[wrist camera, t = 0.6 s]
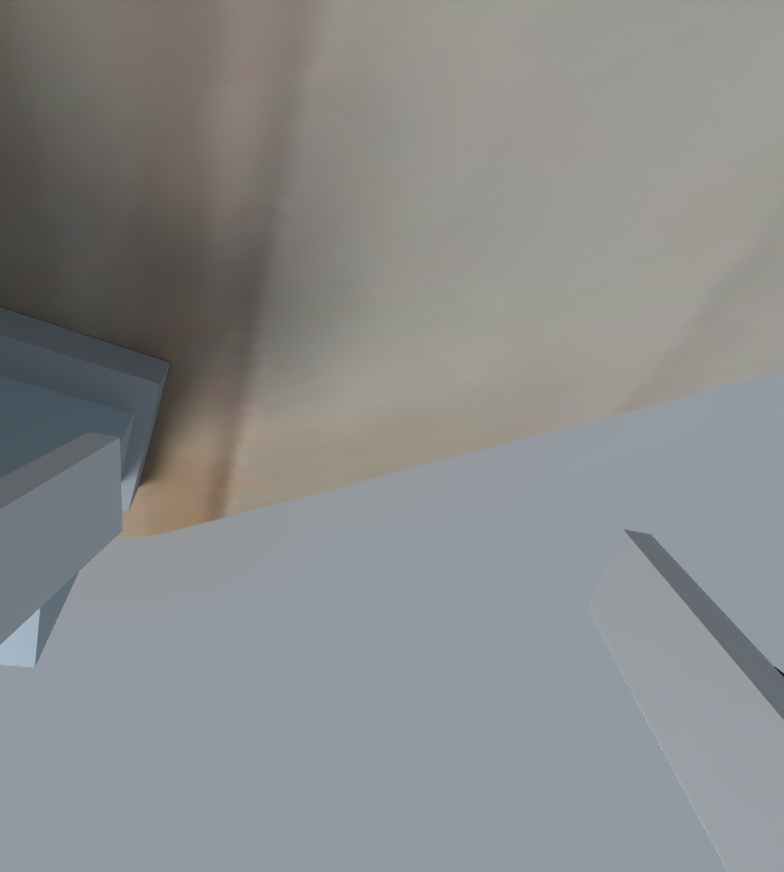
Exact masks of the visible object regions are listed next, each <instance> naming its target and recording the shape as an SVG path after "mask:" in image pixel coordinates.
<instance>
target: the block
mask: <svg viewBox="0 0 784 872" xmlns="http://www.w3.org/2000/svg"><path fill="white" fill-rule="evenodd" d="M134 416H135V413H131V412H128V411H124V410H121V409H117V408H113V407H110V406H106V405H103V404H99V403H96V402H92V401H88V400H85V399H81V398H78V397H74V396H70V395H67V394H63V393H60V392H56V391H53V390H49V389H45V388H42V387H38V386H35V385H31V384H27V383H24V382H20V381H17V380H13V379H10V378H6V377H2V376H0V478H2V477H4V476H6V475H7V474H9V473H11V472H13V471H15V470H17V469H19V468H21V467H23V466H25V465H27V464H28V463H30V462H32V461H34V460H36V459H38V458H40V457H42V456H44V455H46V454H48V453H50V452H51V451H53V450H55V449H57V448H59V447H61V446H63V445H65V444H67V443H69V442H71V441H72V440H74V439H76V438H78V437H80V436H82V435H84V434H86V433H88V432H92V433H98V434H103V435H109V436H114V437H120V460H121V475H122V471H123V466H124V462H125V457H126V452H127V448H128V443H129V439H130V434H131V430H132V425H133V420H134ZM78 573H79V572H78ZM78 573H77V574H76V575H74V576H73V577H72V578H71V579H70V580H69V581H68V582H67V583H66V584H65V585H64V586H63V587H62V588H61V589H60V590H58V591H57V592H56V593H55V594H54V595H53V596H52V597H51V598H50V599H49V600H48V601H47V602H46V603H45V604H44V605H42V606H41V607H40V608H39V609H38V610H37V611H36V612H35V613H34V614H33V615H32V616H31V617H30V618H29V619H28V620H26V621H25V622H24V623H23V624H22V625H21V626H20V627H19V628H18V629H17V630H16V631H15V632H14V633H13V634H12V635H10V636H9V637H8V638H7V639H6V640H5V641H4V642H3V643H2V644H1V645H0V665H10V666H23V667H35V666H36V664H37V661H38V659H39V657H40V655H41V653H42V651H43V648H44V646H45V644H46V642H47V640H48V638H49V635H50V633H51V631H52V629H53V627H54V625H55V622H56V620H57V618H58V616H59V614H60V612H61V609H62V607H63V605H64V602H65V601H66V598H67V596H68V594H69V592H70V590H71V587H72V585H73V583H74V581H75V579H76V577H77V575H78Z"/></svg>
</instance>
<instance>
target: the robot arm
mask: <svg viewBox="0 0 784 872" xmlns="http://www.w3.org/2000/svg"><path fill="white" fill-rule="evenodd" d="M121 531H122V498H121V460H120V437H114V436H109V435H103V434H98V433H92V432H88V433H86V434H84V435H82V436H80V437H78V438H76V439H74V440H72V441H71V442H69V443H67V444H65V445H63V446H61V447H59V448H57V449H55V450H53V451H51V452H50V453H48V454H46V455H44V456H42V457H40V458H38V459H36V460H34V461H32V462H30V463H28V464H27V465H25V466H23V467H21V468H19V469H17V470H15V471H13V472H11V473H9V474H7V475H6V476H4V477H2V478H0V645H1V644H2V643H3V642H4V641H5V640H6V639H7V638H8V637H9V636H10V635H12V634H13V633H14V632H15V631H16V630H17V629H18V628H19V627H20V626H21V625H22V624H23V623H24V622H25V621H26V620H28V619H29V618H30V617H31V616H32V615H33V614H34V613H35V612H36V611H37V610H38V609H39V608H40V607H41V606H42V605H44V604H45V603H46V602H47V601H48V600H49V599H50V598H51V597H52V596H53V595H54V594H55V593H56V592H57V591H58V590H60V589H61V588H62V587H63V586H64V585H65V584H66V583H67V582H68V581H69V580H70V579H71V578H72V577H73V576H74V575H76V574H77V573H78V572H79V571H80V570H81V569H82V568H83V567H84V566H85V565H86V564H87V563H88V562H89V561H90V560H91V559H92V558H94V557H95V556H96V555H97V554H98V553H99V552H100V551H101V550H102V549H103V548H104V547H105V546H106V545H107V544H108V543H110V542H111V541H112V540H113V539H114V538H115V537H116V536H117V535H118V534H119V533H120V532H121ZM588 613H589V615H590V617H591V619H592V620H593V622H594V624H595V626H596V628H597V630H598V632H599V634H600V635H601V637H602V639H603V641H604V643H605V645H606V647H607V648H608V650H609V652H610V654H611V656H612V658H613V660H614V661H615V663H616V665H617V667H618V669H619V671H620V673H621V675H622V676H623V678H624V680H625V682H626V684H627V686H628V688H629V689H630V691H631V693H632V695H633V697H634V699H635V701H636V702H637V704H638V706H639V708H640V710H641V712H642V714H643V715H644V717H645V719H646V721H647V723H648V725H649V726H650V728H651V730H652V732H653V734H654V736H655V738H656V739H657V741H658V743H659V745H660V747H661V749H662V751H663V753H664V754H665V756H666V758H667V760H668V762H669V764H670V766H671V768H672V769H673V771H674V773H675V775H676V777H677V779H678V781H679V782H680V784H681V786H682V788H683V790H684V792H685V794H686V795H687V797H688V799H689V801H690V803H691V805H692V806H693V808H694V810H695V812H696V814H697V816H698V818H699V820H700V821H701V823H702V825H703V827H704V829H705V831H706V833H707V834H708V836H709V838H710V840H711V842H712V844H713V846H714V847H715V849H716V851H717V853H718V855H719V857H720V859H721V861H722V862H723V864H724V866H725V868H726V870H727V872H784V673H782V672H781V671H780V670H779V669H777V668H776V667H774V666H773V665H772V664H771V663H770V662H769V661H768V660H767V659H766V658H765V656H764V655H763V654H762V653H761V652H760V651H759V650H758V649H757V648H756V647H755V646H754V645H753V644H752V643H751V641H750V640H749V639H748V638H747V637H746V636H745V635H744V634H743V633H742V632H741V631H740V630H739V629H738V628H737V626H736V625H735V624H734V623H733V622H732V621H731V620H730V619H729V618H728V617H727V616H726V615H725V613H724V612H723V611H722V610H721V609H720V608H719V607H718V606H717V605H716V604H715V603H714V602H713V601H712V600H711V599H710V597H709V596H708V595H707V594H706V593H705V592H704V591H703V590H702V589H701V588H700V587H699V586H698V585H697V583H696V582H695V581H694V580H693V579H692V578H691V577H690V576H689V575H688V574H687V573H686V572H685V570H684V569H682V567H681V566H680V565H679V564H678V563H677V562H676V561H675V560H674V559H673V558H672V557H671V556H670V554H669V553H668V552H667V551H666V550H665V549H664V548H663V547H662V546H661V545H660V544H659V543H658V541H657V540H656V539H655V538H654V537H653V536H652V535H651V534H646V533H641V532H635V531H630V530H624V529H623V531H622V533H621V535H620V537H619V540H618V542H617V544H616V547H615V549H614V551H613V554H612V556H611V558H610V561H609V563H608V565H607V567H606V570H605V572H604V574H603V577H602V579H601V581H600V583H599V586H598V588H597V590H596V592H595V595H594V597H593V599H592V602H591V604H590V606H589V609H588Z"/></svg>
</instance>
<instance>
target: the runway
mask: <svg viewBox="0 0 784 872" xmlns="http://www.w3.org/2000/svg"><path fill="white" fill-rule="evenodd" d="M169 366H170V363H169V362H166V361H163V360H160V359H157V358H154V357H151V356H148V355H145V354H142V353H139V352H135V351H132V350H129V349H126V348H123V347H120V346H117V345H114V344H111V343H108V342H105V341H102V340H99V339H96V338H93V337H90V336H87V335H84V334H81V333H78V332H75V331H72V330H68V329H65V328H62V327H59V326H56V325H53V324H50V323H47V322H44V321H41V320H38V319H35V318H32V317H29V316H26V315H23V314H20V313H17V312H14V311H11V310H8V309H5V308H1V307H0V376H2V377H6V378H10V379H13V380H17V381H20V382H24V383H27V384H31V385H35V386H38V387H42V388H45V389H49V390H53V391H56V392H60V393H63V394H67V395H70V396H74V397H78V398H81V399H85V400H88V401H92V402H96V403H99V404H103V405H106V406H110V407H113V408H117V409H121V410H124V411H128V412H131V413H135V416H134V420H133V425H132V430H131V434H130V439H129V443H128V448H127V452H126V457H125V462H124V466H123V471H122V475H121V498H122V510H124V511H129V509H130V507H131V504H132V502H133V500H134V497H135V495H136V492H137V490H138V487H139V483H140V479H141V476H142V472H143V468H144V464H145V460H146V456H147V452H148V448H149V444H150V440H151V436H152V433H153V429H154V425H155V421H156V417H157V413H158V409H159V405H160V401H161V397H162V393H163V390H164V386H165V382H166V378H167V374H168V370H169Z"/></svg>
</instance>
